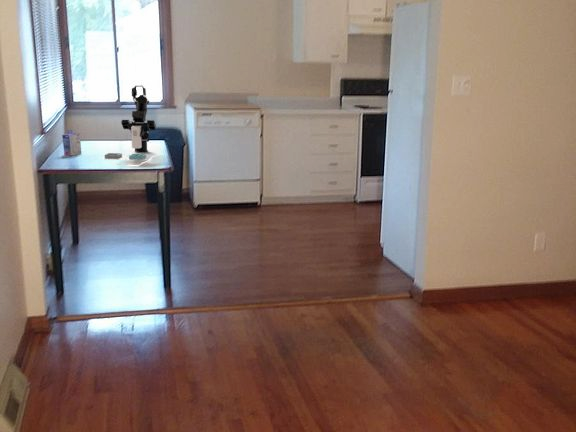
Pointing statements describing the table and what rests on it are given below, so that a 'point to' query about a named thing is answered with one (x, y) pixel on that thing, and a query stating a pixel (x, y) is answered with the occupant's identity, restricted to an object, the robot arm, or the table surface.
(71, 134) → the ink cartridge box
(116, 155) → the socket board
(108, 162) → the table surface
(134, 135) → the plug
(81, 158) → the table surface
